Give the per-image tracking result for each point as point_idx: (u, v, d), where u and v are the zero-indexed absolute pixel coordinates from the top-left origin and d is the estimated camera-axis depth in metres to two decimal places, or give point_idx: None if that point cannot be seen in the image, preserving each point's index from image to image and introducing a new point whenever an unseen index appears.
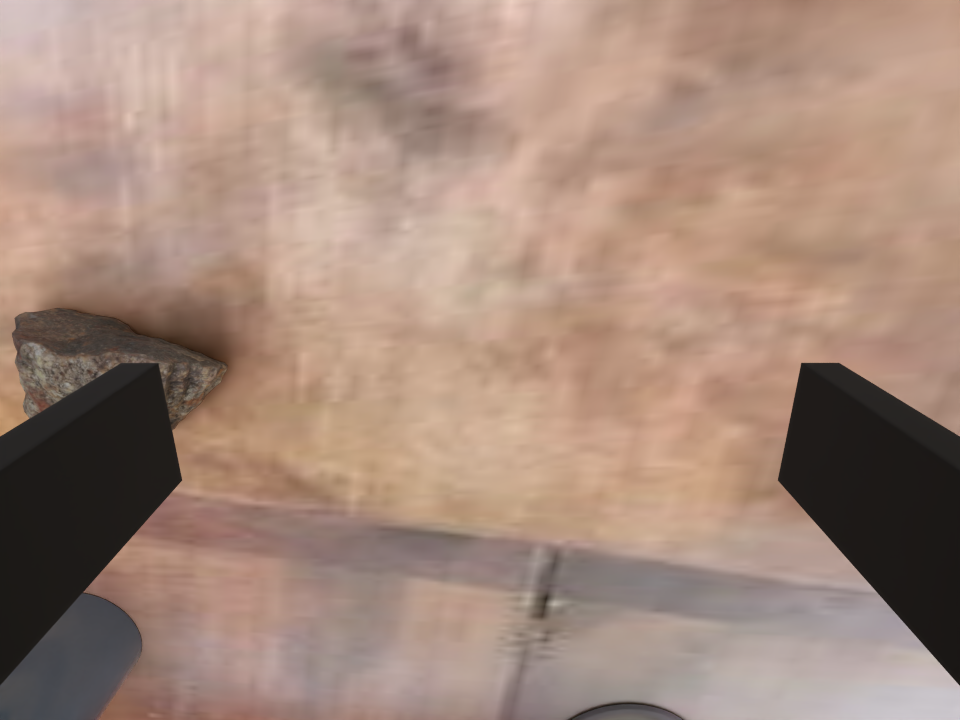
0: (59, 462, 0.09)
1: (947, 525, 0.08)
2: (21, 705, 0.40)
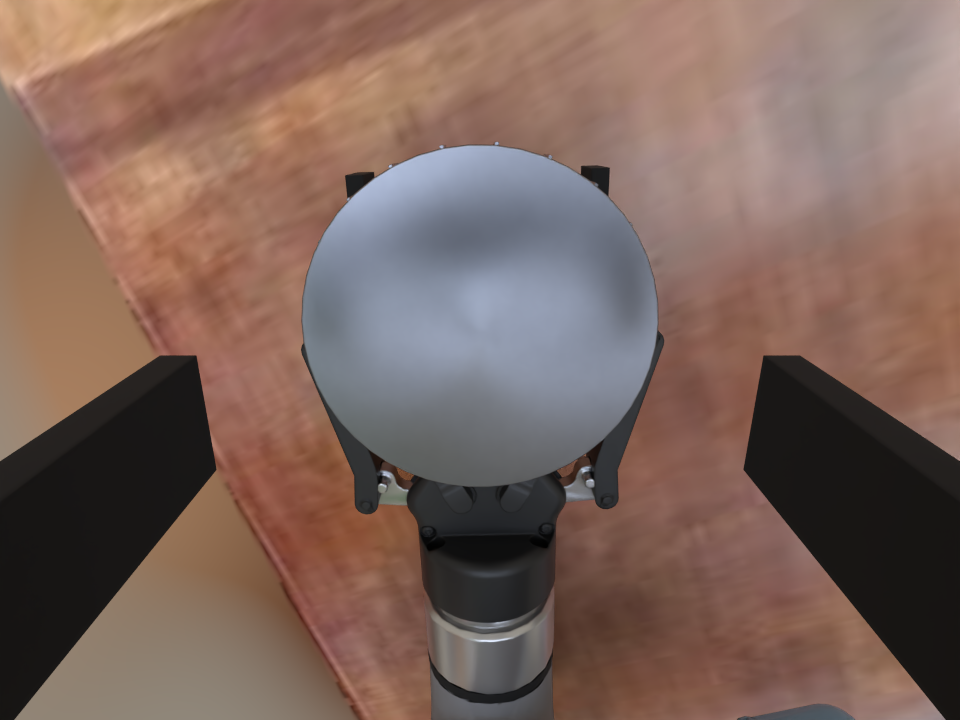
0: (112, 448, 0.09)
1: (886, 506, 0.09)
2: None
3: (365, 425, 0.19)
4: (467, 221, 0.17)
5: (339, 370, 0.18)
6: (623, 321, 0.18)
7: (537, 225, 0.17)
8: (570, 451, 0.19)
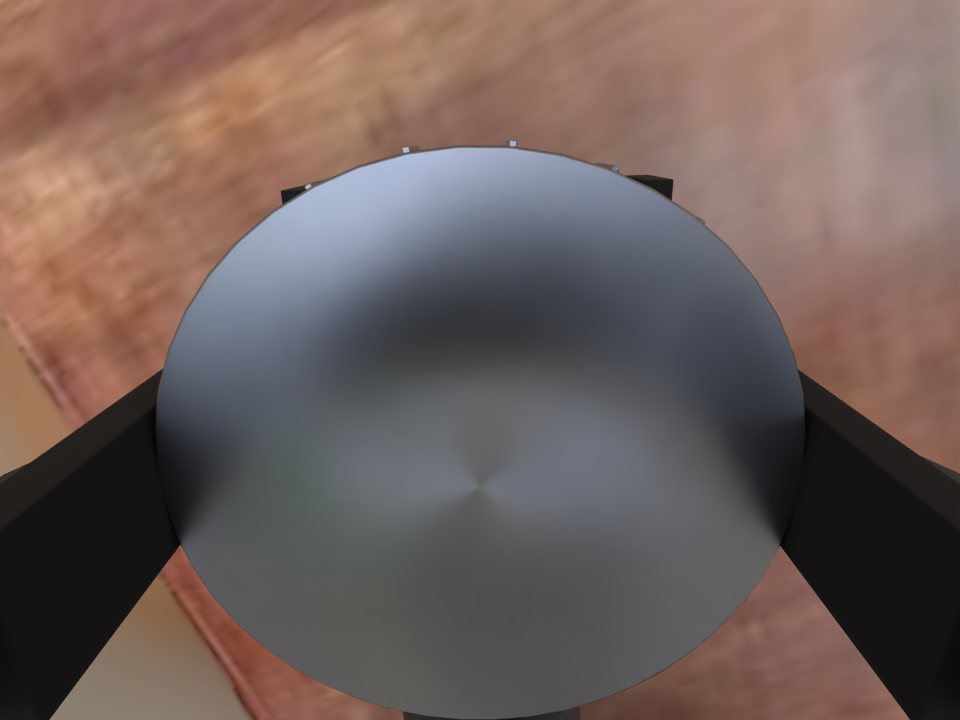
0: (150, 439, 0.10)
1: (842, 494, 0.09)
2: None
3: (282, 630, 0.11)
4: (456, 292, 0.09)
5: (231, 545, 0.10)
6: (741, 467, 0.10)
7: (589, 299, 0.09)
8: (634, 669, 0.11)
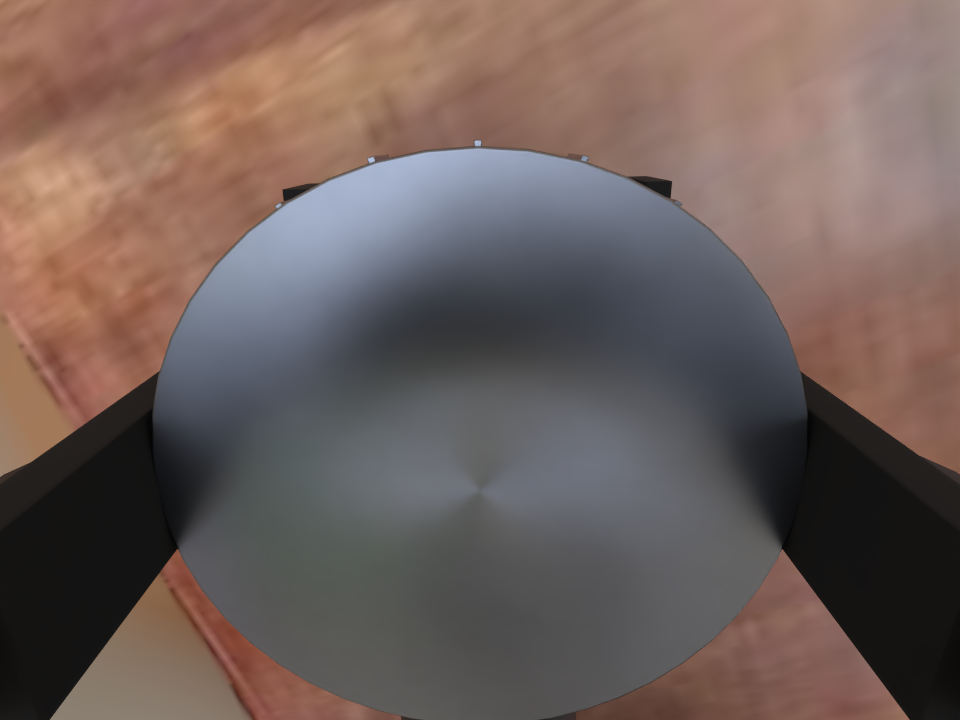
0: (151, 439, 0.10)
1: (842, 495, 0.09)
2: None
3: (633, 665, 0.11)
4: (279, 500, 0.10)
5: (530, 688, 0.11)
6: (467, 226, 0.08)
7: (278, 392, 0.09)
8: (757, 333, 0.09)
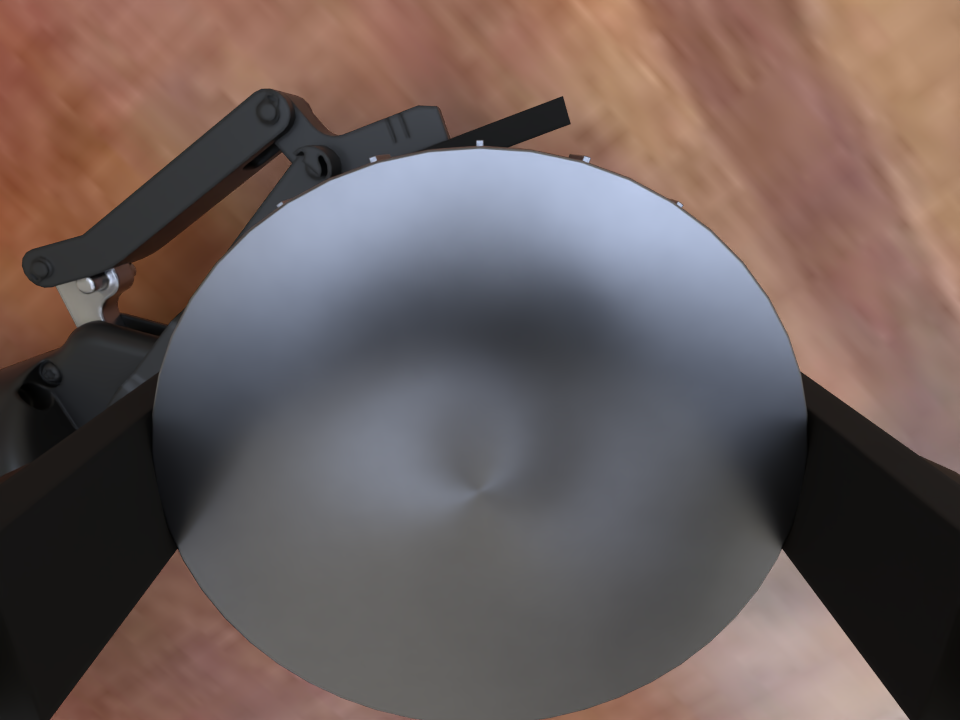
0: (150, 439, 0.10)
1: (842, 494, 0.09)
2: None
3: (632, 666, 0.11)
4: (279, 499, 0.10)
5: (529, 688, 0.11)
6: (469, 226, 0.08)
7: (278, 390, 0.09)
8: (758, 335, 0.09)
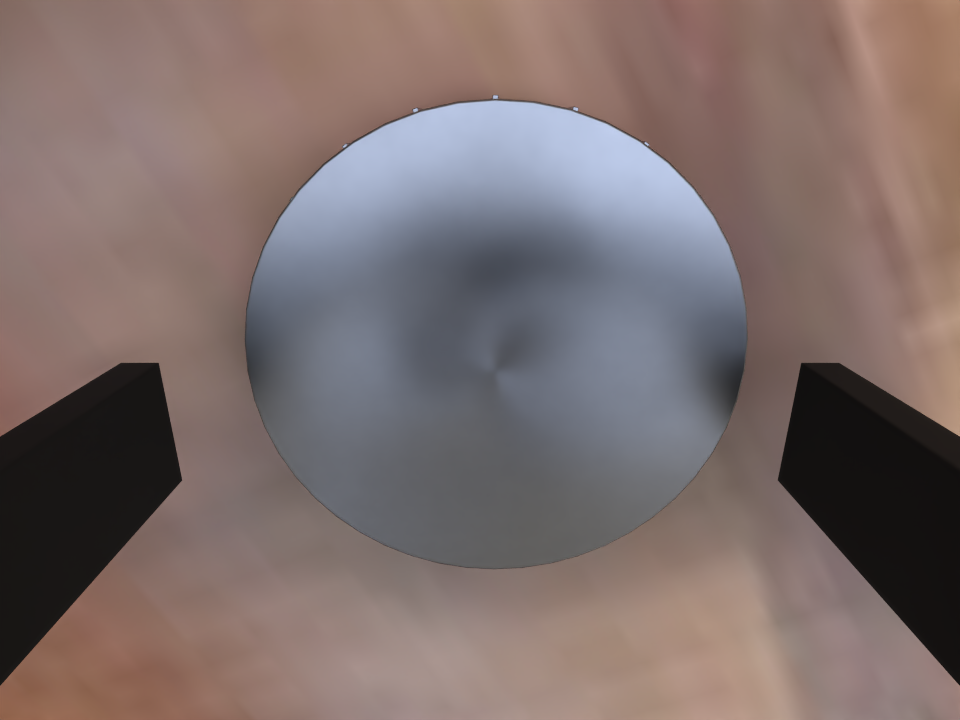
0: (60, 462, 0.09)
1: (947, 525, 0.08)
2: None
3: (614, 518, 0.14)
4: (341, 378, 0.13)
5: (533, 537, 0.15)
6: (487, 160, 0.11)
7: (342, 289, 0.12)
8: (706, 244, 0.12)
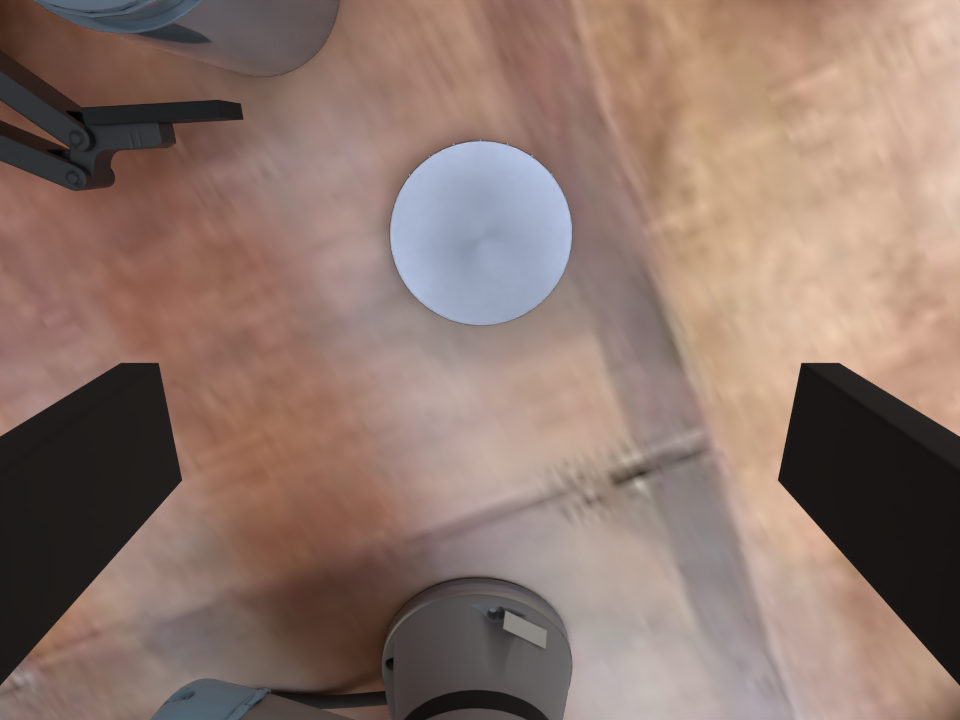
0: (59, 462, 0.09)
1: (947, 525, 0.08)
2: None
3: (528, 301, 0.37)
4: (424, 241, 0.35)
5: (496, 310, 0.37)
6: (477, 160, 0.34)
7: (426, 206, 0.35)
8: (553, 189, 0.34)
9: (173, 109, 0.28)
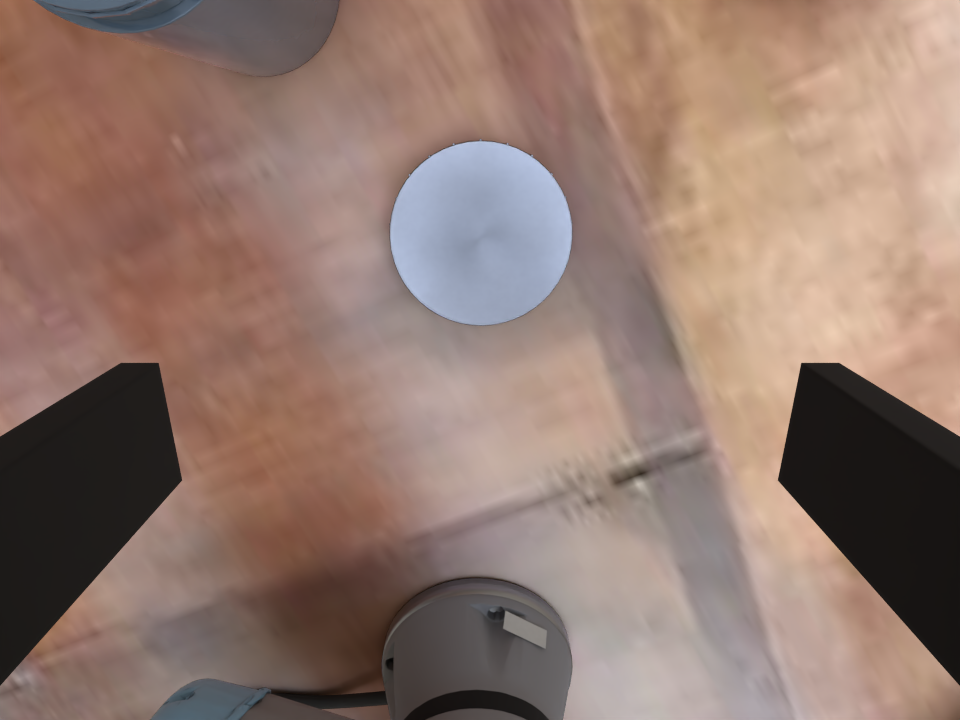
0: (59, 462, 0.09)
1: (947, 525, 0.08)
2: None
3: (528, 301, 0.37)
4: (424, 241, 0.35)
5: (496, 310, 0.37)
6: (477, 160, 0.34)
7: (426, 206, 0.35)
8: (553, 189, 0.34)
9: None
